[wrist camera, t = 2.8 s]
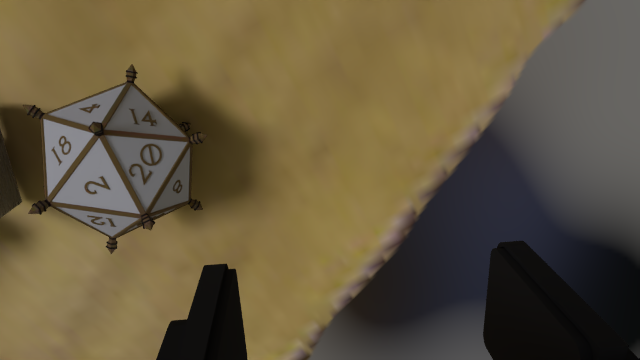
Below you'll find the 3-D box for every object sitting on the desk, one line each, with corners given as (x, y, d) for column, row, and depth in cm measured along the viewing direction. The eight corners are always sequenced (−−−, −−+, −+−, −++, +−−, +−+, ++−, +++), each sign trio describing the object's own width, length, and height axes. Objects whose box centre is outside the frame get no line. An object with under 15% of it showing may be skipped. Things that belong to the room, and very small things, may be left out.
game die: (148, 96, 31) (108, -4, 21) (241, 185, 30) (244, 124, 20) (30, 190, 28) (-77, 123, 18) (131, 290, 27) (74, 275, 18)
